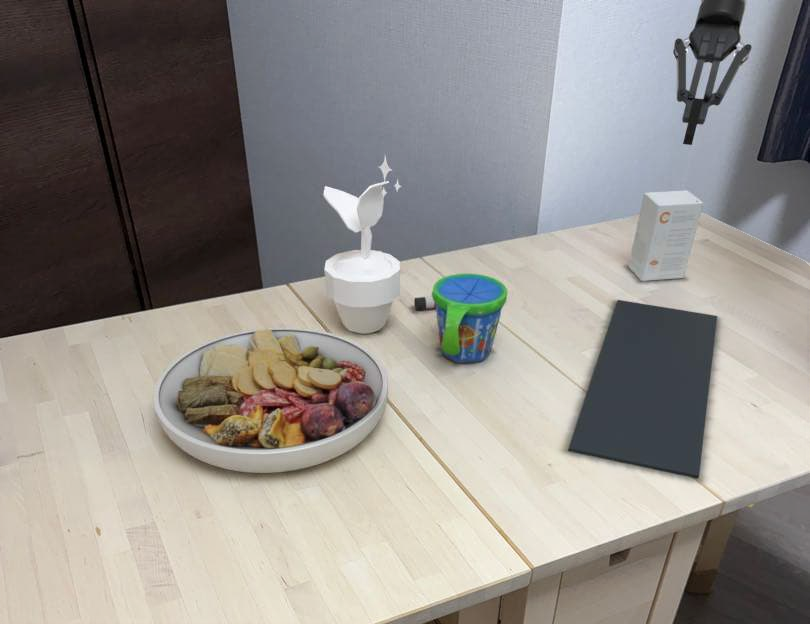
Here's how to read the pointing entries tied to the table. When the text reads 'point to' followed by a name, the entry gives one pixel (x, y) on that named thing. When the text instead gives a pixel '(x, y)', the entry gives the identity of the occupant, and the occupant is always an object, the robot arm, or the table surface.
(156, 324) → the table surface
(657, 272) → the small box
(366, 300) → the potted plant
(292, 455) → the bowl
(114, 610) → the table surface
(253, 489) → the table surface
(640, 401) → the slate mat
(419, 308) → the marker
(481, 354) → the snack cup
